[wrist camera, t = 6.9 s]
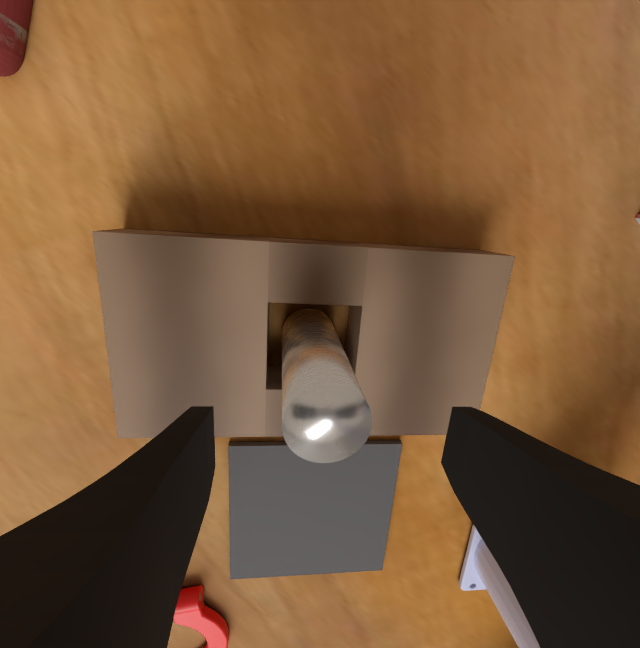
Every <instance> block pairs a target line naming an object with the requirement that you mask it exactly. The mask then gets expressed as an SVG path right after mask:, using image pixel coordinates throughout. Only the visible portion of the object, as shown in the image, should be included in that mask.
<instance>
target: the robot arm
mask: <svg viewBox="0 0 640 648" xmlns="http://www.w3.org/2000/svg"><path fill="white" fill-rule="evenodd" d="M441 463H442V465H443V468H444V470H445V472H446V475H447V477H448V480H449V482H450V484H451V486H452V488H453V490H454V493H455V494H456V496H457V498H458V500H459V501H460V503H461V505H462V506H463V508H464V510H465V511H466V513H467V515H468V516H469V518H470V520H471V521H472V523H473V527H472V531H471V535H470V539H469V543H468V547H467V551H466V555H465V559H464V563H463V567H462V571H461V575H460V579H459V586H460V588H461V589H462V590H464V591H469V590H484V589H487V591H488V593H489V595H490V597H491V598H492V600H493V602H494V604H495V606H496V607H497V609H498V611H499V613H500V615H501V616H502V618H503V620H504V622H505V624H506V626H507V627H508V629H509V631H510V633H511V635H512V636H513V638H514V640H515V642H516V644H517V645H518V647H519V648H640V485H637V484H635V483H632V482H630V481H628V480H625V479H623V478H620V477H618V476H615V475H613V474H610V473H608V472H606V471H603V470H601V469H599V468H596V467H594V466H592V465H590V464H587V463H585V462H583V461H581V460H579V459H577V458H575V457H573V456H570V455H568V454H566V453H564V452H562V451H560V450H558V449H556V448H554V447H552V446H550V445H548V444H546V443H544V442H542V441H540V440H538V439H536V438H534V437H532V436H530V435H528V434H526V433H524V432H522V431H520V430H518V429H517V428H515V427H513V426H511V425H509V424H507V423H505V422H503V421H501V420H499V419H497V418H495V417H493V416H491V415H489V414H487V413H485V412H483V411H480V410H478V409H476V408H473V407H452V411H451V416H450V421H449V426H448V431H447V436H446V441H445V446H444V451H443V456H442V461H441ZM214 470H215V441H214V406H191V407H190V408H189V409H188V410H186V411H185V412H184V413H183V414H182V415H181V416H179V417H178V418H177V419H176V420H175V421H174V422H172V423H171V424H170V425H169V426H168V427H167V428H165V429H164V430H163V431H162V432H161V433H159V434H158V435H157V436H156V437H155V438H153V439H152V440H151V441H150V442H149V443H147V444H146V445H145V446H144V447H142V448H141V449H140V450H138V451H137V452H136V453H134V454H133V455H132V456H130V457H129V458H128V459H126V460H125V461H124V462H122V463H121V464H120V465H118V466H117V467H116V468H114V469H113V470H111V471H110V472H109V473H107V474H106V475H104V476H103V477H101V478H100V479H98V480H97V481H95V482H94V483H92V484H91V485H89V486H88V487H86V488H84V489H83V490H81V491H80V492H78V493H76V494H75V495H73V496H72V497H70V498H68V499H67V500H65V501H63V502H62V503H60V504H58V505H56V506H55V507H53V508H51V509H49V510H47V511H46V512H44V513H42V514H40V515H38V516H37V517H35V518H33V519H31V520H29V521H28V522H26V523H24V524H22V525H20V526H18V527H17V528H15V529H13V530H11V531H9V532H7V533H5V534H4V535H2V536H0V648H167V645H168V640H169V636H170V631H171V627H172V623H173V618H174V614H175V609H176V606H177V602H178V598H179V595H180V591H181V587H182V584H183V581H184V578H185V575H186V571H187V568H188V565H189V562H190V559H191V556H192V553H193V549H194V546H195V543H196V540H197V537H198V534H199V530H200V527H201V524H202V521H203V518H204V514H205V511H206V508H207V505H208V501H209V497H210V492H211V487H212V481H213V476H214Z"/></svg>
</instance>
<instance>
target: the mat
mask: <svg viewBox="0 0 640 648" xmlns="http://www.w3.org/2000/svg"><path fill="white" fill-rule="evenodd" d="M401 448H402V443H401V441H400V440H367V441H366V442H365V444H364V445H363V446H362V447H361V448H360V449H359V450H358V451H357V452H356V453H354V454H353V455H351V456H349V457H348V458H345V459H343V460H340V461H337V462H332V463H316V462H311V461H308V460H305V459H303V458H301V457H299V456H298V455H296V454H295V453H294V452H293V451H292V450H291V449H290V448H289V447H288V445H287V444H286V442H229V513H230V579H244V578H260V577H277V576H293V575H310V574H327V573H343V572H360V571H376V570H382V568H383V562H384V555H385V549H386V543H387V536H388V530H389V524H390V518H391V511H392V505H393V499H394V492H395V486H396V480H397V473H398V467H399V461H400V454H401Z"/></svg>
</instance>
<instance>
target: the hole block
mask: <svg viewBox="0 0 640 648" xmlns="http://www.w3.org/2000/svg"><path fill="white" fill-rule="evenodd" d="M92 233H93V241H94V249H95V257H96V265H97V273H98V281H99V289H100V297H101V305H102V313H103V321H104V330H105V338H106V346H107V354H108V362H109V370H110V378H111V386H112V394H113V402H114V410H115V418H116V426H117V435H118V438H155V437H156V436H157V435H158V434H159V433H161V432H162V431H163V430H164V429H165V428H167V427H168V426H169V425H170V424H171V423H172V422H174V421H175V420H176V419H177V418H178V417H179V416H181V415H182V414H183V413H184V412H185V411H186V410H188V409H189V408H190V407H191V406H214V437H273V436H283V433H282V365H268V337H269V302H270V303H297V304H324V305H349V313H348V324H347V335H346V346H345V353H346V356H347V358H348V360H349V362H350V365H351V367H352V369H353V371H354V374H355V376H356V378H357V380H358V383H359V385H360V387H361V389H362V392H363V394H364V396H365V398H366V401H367V403H368V405H369V407H370V410H371V413H372V429H371V432H370V435H447V431H448V426H449V421H450V416H451V411H452V407H473V408H476V409H478V410H480V407H481V403H482V399H483V394H484V390H485V385H486V381H487V377H488V372H489V368H490V364H491V359H492V355H493V350H494V346H495V342H496V337H497V333H498V328H499V324H500V320H501V315H502V311H503V307H504V302H505V298H506V293H507V289H508V285H509V280H510V276H511V271H512V267H513V263H514V258H515V256H511V255H506V254H500V253H494V252H488V251H483V250H470V249H453V248H437V247H420V246H403V245H387V244H370V243H354V242H337V241H320V240H304V239H287V238H271V237H254V236H237V235H221V234H204V233H188V232H171V231H154V230H138V229H113V230H102V231H92ZM370 435H369V436H370Z"/></svg>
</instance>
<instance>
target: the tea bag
mask: <svg viewBox="0 0 640 648" xmlns="http://www.w3.org/2000/svg"><path fill="white" fill-rule="evenodd" d="M634 219H635V220H636V221H637V222H638V224H639V225H640V213H639V214H638V215H637V216H636V217H635V218H634Z"/></svg>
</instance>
